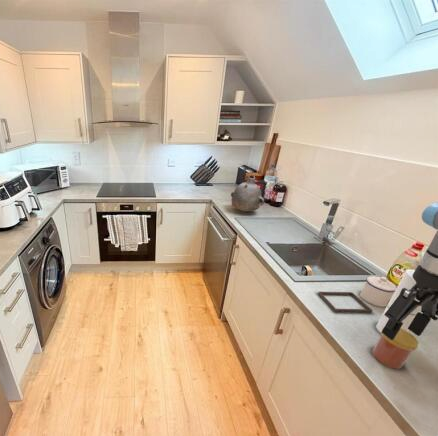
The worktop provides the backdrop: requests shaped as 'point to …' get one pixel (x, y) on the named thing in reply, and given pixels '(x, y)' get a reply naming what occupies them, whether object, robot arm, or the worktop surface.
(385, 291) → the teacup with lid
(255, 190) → the jug
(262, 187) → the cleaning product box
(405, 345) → the jar lid
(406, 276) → the cylindrical container
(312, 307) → the worktop surface
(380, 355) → the jar
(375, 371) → the worktop surface
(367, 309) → the dark rectangular frame
